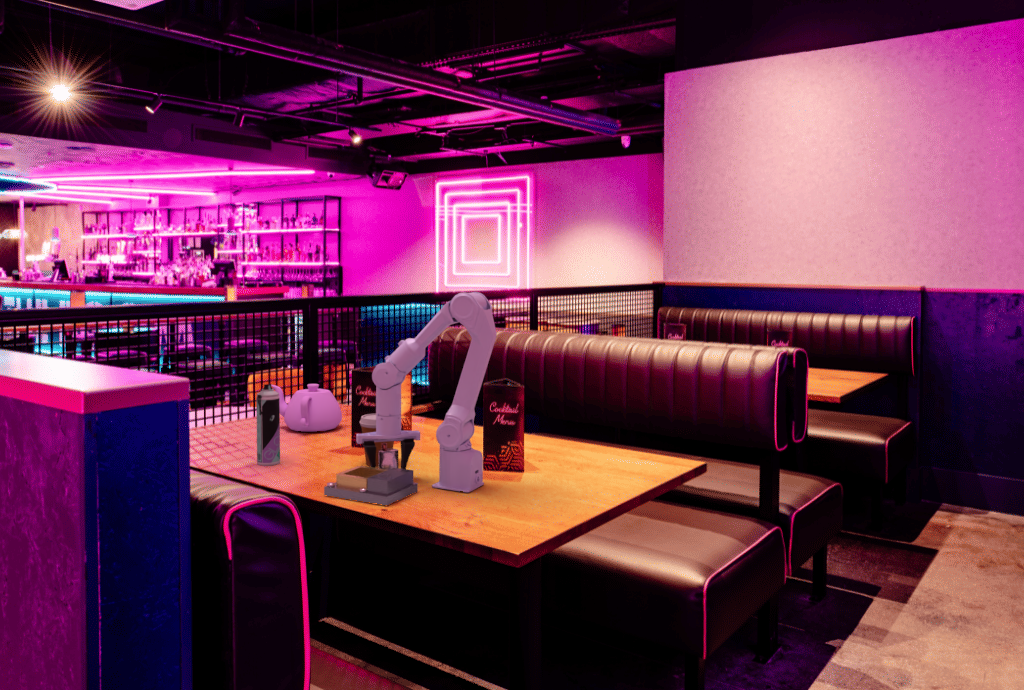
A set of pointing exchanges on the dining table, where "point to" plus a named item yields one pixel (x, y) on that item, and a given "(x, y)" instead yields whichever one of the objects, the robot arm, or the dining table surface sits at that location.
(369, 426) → the disposable coffee cup
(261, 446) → the spray can
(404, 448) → the robot arm
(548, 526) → the dining table surface
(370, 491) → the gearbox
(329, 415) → the teapot
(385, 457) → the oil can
